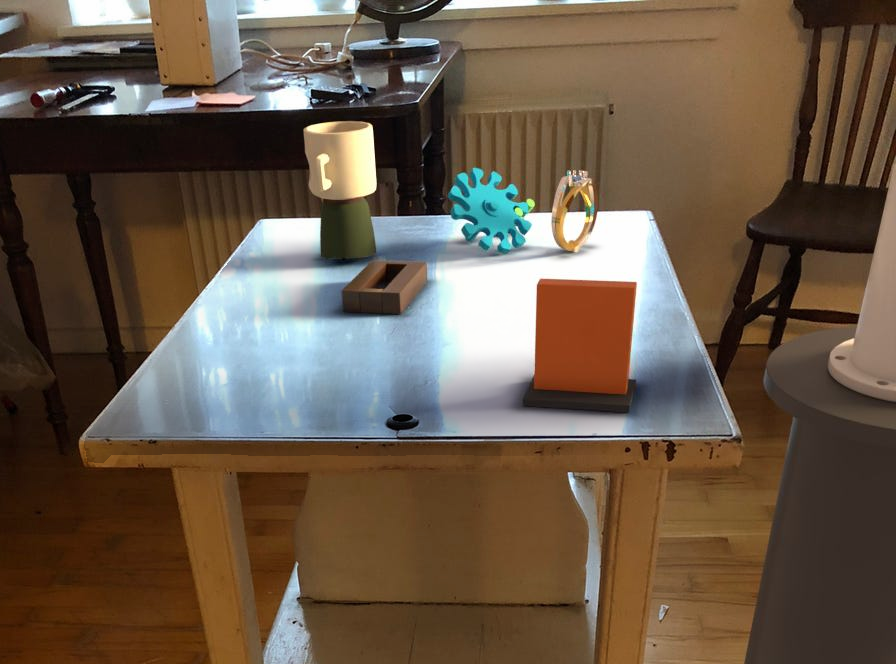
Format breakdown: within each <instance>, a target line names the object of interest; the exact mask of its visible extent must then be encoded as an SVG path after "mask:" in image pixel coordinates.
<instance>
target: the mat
mask: <svg viewBox="0 0 896 664" xmlns="http://www.w3.org/2000/svg"><path fill="white" fill-rule="evenodd" d="M636 386H637V379H635V378H634V379H633V378H629V379H628V388H627V392H626V395H620V394H605V393H589V392H573V391H557V390H541V389H534V375H533V376H532V378H531V380H530V382H529V384H528V387H527V389H526V391H525V393H524V396H523V398H522V406H523V407H536V408H550V409H551V408H552V409H564V410H565V409H567V410H579V411H594V412H595V411H596V412H609V413H610V412H612V413H626V414H629V413H630V412H631V408H632V403H633V399H634V395H635V391H636Z"/></svg>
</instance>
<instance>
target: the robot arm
mask: <svg viewBox="0 0 896 664" xmlns="http://www.w3.org/2000/svg"><path fill="white" fill-rule="evenodd" d="M878 228H879V229H878V232H877V237H876V242H875V246H874V251H873V254H872V260H871V264H870V268H869V271H868V272H869V273H868V278H867V282H866V285H865V290H864V293H863V299H862V303H861V306H860V307H861V308H860V313H859V315H858V316H859V317H858V321H857V325H856V326H857V329H856V334H855V338H854V339H851V340H848V341H845V342H843V343H841V344H839V345H838V346H836V347H835V348H834V349H833V350H832V351H831V353H830V357H829V361H828V371H829V372H830V374H831V376H832V377H833V378H834V379H835V380H836V381H837V382H839V383H840V384H842V385H843V386H845V387H847V388H849V389H851V390H853V391H855V392H858V393H860V394H863V395H866V396H869V397H873V398H877V399H881V400H885V401H890V402H896V158H895V159H894V163H893V167H892V172H891V176H890V180H889V185H888V189H887V194H886V198H885V202H884V207H883V212H882V216H881V220H880V224H879V227H878Z"/></svg>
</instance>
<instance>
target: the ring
mask: <svg viewBox="0 0 896 664" xmlns="http://www.w3.org/2000/svg"><path fill="white" fill-rule="evenodd" d="M588 175H589V171H586V170H583V169H581V170H580V169H579V170H578V175H577V169H573V172H572V174H571V170H566V175H565V176H562V177H561V178H560V181H559V183H558V186H557V189H556V192H555V195H554V200H553V205H552V212H551V220H550V221H551V223H550V224H551V233H552V236H553V239H554V242H555V244H556V245H557V246H558V247H559V248H561V249H563V250H566V251H569V252H572V253H577V252H579V250H580V249H581V248H582V247H583V246H584V245H585V244H586V243H587V241H588V240H589V238H591V237H590V236H591V235H592V232H593V230H594V228H595V225H596V221H597V217H598V212H599V211H598V210H599V195H598V187H597V183H596V181H595V179H594V178H592V177H591V178H590V177H588ZM567 186H568V187H573V188H572V189H570V190H569V192H568V193H567V195H566V196H565V191H566V189H567ZM579 193H580V194H581V196H582V198H583V201H584V206H585V219H584V225H583V228H582V230H581V232H580V234H579V235H578V237H577V238H576V239H575V240H573V239H570V240H569V241H567V240H566V238H565V235H564V224H565V223H564V222H565V218H566V215H567V213H568V211H569V209H570V206H571V204H572V202H573V201H574V200H575V198H576V197H577V195H578V194H579ZM564 196H565V197H564Z"/></svg>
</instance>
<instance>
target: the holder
mask: <svg viewBox="0 0 896 664" xmlns="http://www.w3.org/2000/svg"><path fill="white" fill-rule="evenodd" d="M428 282H429V281H428V262H427V261H411V260H410V261H409V260H408V261H407V260H381V259H379V260H377V259H375V260H374V259H371V261H370V262H368V264H367V265H366V266H365V267H364V268H362V270H360V272H358V274H357V275H356V276H355V277H354V278H353V279H352V280H351V281H349V283H348V284H346V286H345V287H343V288H342V289H341V292H340V293H341V302H342V311H343V312H344V313H345V312H346V313H365V314H368V313H369V314H385V315H386V314H387V315H388V314H389V315H402V314H403V312H404V311H405V310H406V309H407V307H408V306H409V305H410V304H411V302H412V301H413V300H414V299H415V298H416V296H417V295H418V294H419V293H420V292H421V290H422V289H423V288H424V287H425V286H426V285H427V283H428ZM387 284H388V285H387ZM386 285H387V286H386ZM385 286H386V287H385Z"/></svg>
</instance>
